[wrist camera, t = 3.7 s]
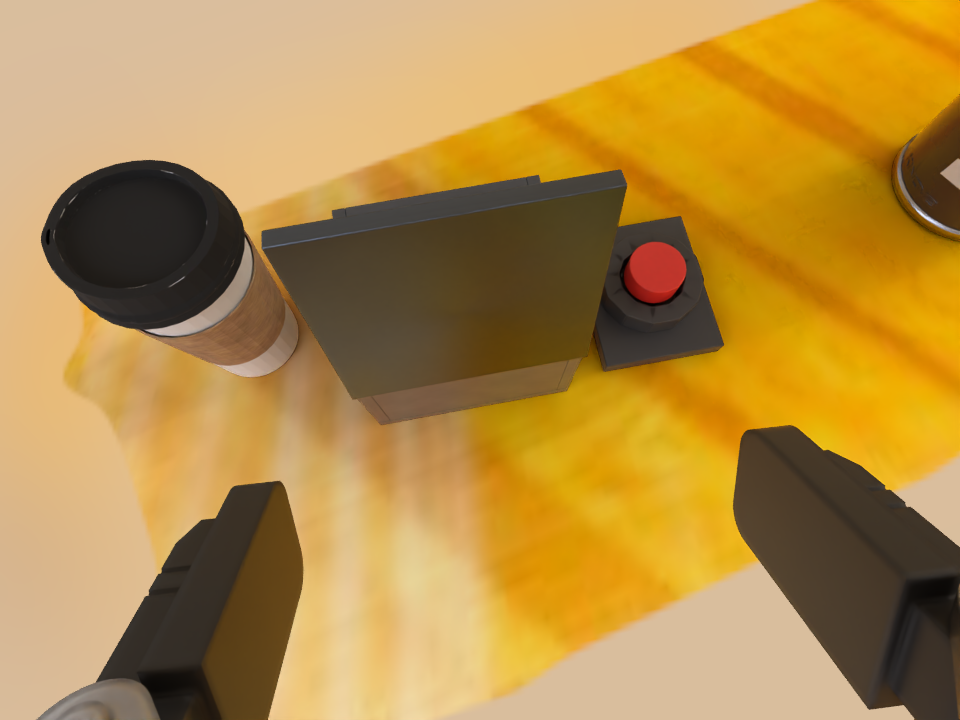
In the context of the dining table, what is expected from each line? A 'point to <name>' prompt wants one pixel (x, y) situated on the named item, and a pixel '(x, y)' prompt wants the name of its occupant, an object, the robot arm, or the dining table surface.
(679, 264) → the button
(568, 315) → the lid
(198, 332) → the coffee cup
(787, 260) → the dining table surface
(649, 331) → the block
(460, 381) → the dark grey lidded box
